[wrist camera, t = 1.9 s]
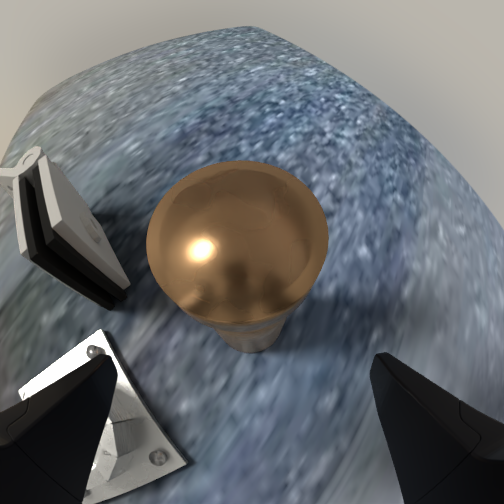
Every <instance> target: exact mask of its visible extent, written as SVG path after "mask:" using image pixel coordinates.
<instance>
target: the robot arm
mask: <svg viewBox="0 0 504 504" xmlns="http://www.w3.org/2000/svg"><path fill="white" fill-rule="evenodd" d="M117 380H118V371H117V369H116V366H115V364H114V361H113V359H112V357H111V356H110V355H108V354H98V355H97V356H95V357H94V358H92V359H90V360H89V361H87V362H85V363H84V364H82V365H80V366H79V367H77V368H76V369H74V370H72V371H71V372H69V373H67V374H66V375H64V376H62V377H61V378H59V379H57V380H56V381H54V382H52V383H51V384H49V385H48V386H46V387H44V388H43V389H41V390H39V391H38V392H36V393H34V394H33V395H31V396H30V397H28V398H26V399H24V400H23V401H21V402H19V403H17V404H16V405H14V406H12V407H10V408H8V409H6V410H4V411H2V412H0V504H82V502H83V499H84V495H85V491H86V487H87V483H88V480H89V476H90V473H91V469H92V466H93V462H94V459H95V456H96V452H97V449H98V446H99V443H100V440H101V436H102V433H103V430H104V427H105V424H106V421H107V419H108V416H109V412H110V409H111V405H112V400H113V396H114V392H115V388H116V384H117ZM370 380H371V384H372V389H373V393H374V398H375V403H376V408H377V412H378V416H379V419H380V422H381V425H382V428H383V431H384V434H385V437H386V441H387V444H388V447H389V450H390V453H391V457H392V460H393V464H394V467H395V470H396V474H397V477H398V481H399V485H400V488H401V492H402V496H403V500H404V504H504V424H503V423H501V422H499V421H497V420H495V419H493V418H491V417H489V416H487V415H485V414H483V413H481V412H479V411H477V410H476V409H474V408H472V407H471V406H469V405H467V404H466V403H464V402H463V401H461V400H459V399H458V398H456V397H455V396H453V395H452V394H450V393H449V392H447V391H446V390H444V389H443V388H441V387H439V386H438V385H436V384H435V383H433V382H432V381H430V380H429V379H427V378H426V377H424V376H423V375H421V374H419V373H418V372H416V371H415V370H413V369H412V368H410V367H409V366H407V365H406V364H404V363H403V362H401V361H400V360H398V359H397V358H395V357H394V356H392V355H390V354H389V353H387V352H384V353H378V354H376V355H375V356H374V359H373V363H372V366H371V370H370Z"/></svg>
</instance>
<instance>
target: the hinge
mask: <svg viewBox="0 0 504 504" xmlns="http://www.w3.org/2000/svg"><path fill="white" fill-rule="evenodd" d="M0 185H1V186H2V187H3V188H4V189H5V191H6V192H7V193H8V194H9V195H10V196H11V197H12V198H13V199H14V209H15V219H16V228H17V235H18V242H19V248H20V254H21V255H22V256H23V257H25V258H26V259H27V260H29V261H30V262H32V263H33V264H34V265H36V266H37V267H39V268H40V269H41V270H43V271H44V272H46V273H47V274H49V275H50V276H52V277H53V278H55V279H56V280H58V281H59V282H61V283H62V284H64V285H65V286H67V287H69V288H70V289H72V290H73V291H75V292H76V293H78V294H80V295H81V296H83V297H85V298H86V299H88V300H90V301H91V302H93V303H95V304H96V305H98V306H102V307H104V308H106V309H107V310H109V311H110V310H111V309H113V308H114V307H115V306H114V304H113V302H112V300H111V298H110V296H109V294H108V292H109V293H110V294H112V295H113V296H114V297H116V298H117V299H119V300H120V301H123V300H125V299H126V298H127V295H126V293H125V292H124V289H125V288H127V287H128V286H129V285H131V283H130V282H129V280H128V278H127V276H126V274H125V273H124V271H123V269H122V267H121V265H120V263H119V261H118V259H117V257H116V255H115V253H114V251H113V250H112V248H111V246H110V244H109V241H108V239H107V237H106V235H105V233H104V231H103V229H102V227H101V225H100V223H99V222H98V221H97V220H96V219H95V217H94V216H93V215H92V214H91V212H90V209H89V207H88V205H87V204H86V202H85V201H84V200H83V198H82V197H81V196H80V195H79V193H78V192H77V191H76V189H75V188H74V187H73V185H72V184H71V183H70V181H69V180H68V179H67V177H66V176H65V175H64V173H63V172H62V171H61V169H60V168H59V166H58V165H57V164H56V163H54V162H51V161H50V159H49V158H48V156H47V155H46V154H45V153H44V152H43V150H42V149H41V147H38V146H36V147H34V148H32V149H30V150H29V151H27V152H26V153H25V154H24V156H23V157H22V158H21V159H20V160H19V162H18V164H17V165H16V166H15V167H14V168H0Z"/></svg>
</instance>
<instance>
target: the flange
mask: <svg viewBox="0 0 504 504" xmlns="http://www.w3.org/2000/svg"><path fill="white" fill-rule="evenodd" d="M98 354H108V355H110V356H111V357H112V359H113V361H114V364H115V366H116V369H117V371H118V380H117V384H116V388H115V392H114V396H113V400H112V405H111V409H110V412H109V416H108V419H107V421H106V424H105V427H104V430H103V433H102V436H101V440H100V443H99V446H98V449H97V452H96V456H95V459H94V462H93V466H92V469H91V473H90V476H89V480H88V483H87V487H86V491H85V495H84V499H83V502H82V504H95V503H98V502H101V501H104V500H107V499H109V498H112V497H115V496H117V495H120V494H123V493H125V492H128V491H130V490H133V489H135V488H137V487H140V486H142V485H144V484H147V483H149V482H151V481H153V480H156V479H158V478H160V477H162V476H164V475H166V474H168V473H170V472H172V471H174V470H176V469H178V468H180V467H182V466H184V465H186V464H187V463H188V461H187V460H186V458H185V457H184V456H183V455H182V453H181V452H180V451H179V450H178V448H177V447H176V446H175V444H174V443H173V442H172V440H171V439H170V438H169V436H168V435H167V434H166V432H165V431H164V430H163V428H162V427H161V425H160V424H159V423H158V421H157V420H156V418H155V417H154V415H153V414H152V413H151V411H150V410H149V408H148V407H147V405H146V403H145V402H144V400H143V399H142V397H141V396H140V394H139V392H138V391H137V389H136V388H135V386H134V384H133V383H132V381H131V379H130V378H129V376H128V374H127V372H126V371H125V369H124V367H123V365H122V364H121V362H120V360H119V358H118V356H117V354H116V353H115V351H114V349H113V347H112V345H111V343H110V341H109V339H108V337H107V335H106V333H105V331H104V330H102V329H100V330H99V331H97V332H96V333H95V334H93V335H92V336H90V337H89V338H88V339H86V340H85V341H84V342H82V343H81V344H80V345H78V346H77V347H75V348H74V349H73V350H71V351H70V352H69V353H67V354H66V355H65V356H63V357H62V358H61V359H59V360H58V361H57V362H55V363H54V364H53V365H51V366H50V367H49V368H47V369H46V370H45V371H43V372H42V373H41V374H39V375H38V376H37V377H35V378H34V379H33V380H32V381H30V382H29V383H28V384H26V385H25V386H24V387H22V388H21V389H20V390H19V393H20V396H21V398H22V401H23V400H24V399H26V398H28V397H30V396H31V395H33V394H34V393H36V392H38V391H39V390H41V389H43V388H44V387H46V386H48V385H49V384H51V383H52V382H54V381H56V380H57V379H59V378H61V377H62V376H64V375H66V374H67V373H69V372H71V371H72V370H74V369H76V368H77V367H79V366H80V365H82V364H84V363H85V362H87V361H89V360H90V359H92V358H94V357H95V356H97V355H98Z"/></svg>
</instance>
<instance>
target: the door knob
mask: <svg viewBox="0 0 504 504" xmlns="http://www.w3.org/2000/svg"><path fill="white" fill-rule="evenodd" d="M328 239H329V237H328V226H327V222H326V217H325V215H324V212H323V209H322V207H321V205H320V204H319V202H318V200H317V198H316V197H315V196H314V194H313V193H312V192H311V191H310V189H309V188H308V187H307V186H306V185H305V184H304V183H302V182H301V181H300V180H299V179H297V178H296V177H295V176H293V175H291V174H290V173H288V172H286V171H284V170H282V169H280V168H278V167H275V166H272V165H269V164H265V163H260V162H254V161H227V162H221V163H217V164H213V165H209V166H206V167H204V168H201V169H199V170H197V171H195V172H193V173H191V174H189V175H188V176H186V177H185V178H183V179H182V180H180V181H179V182H178V183H176V184H175V185H174V186H173V187H172V188H171V189H170V190H169V191H168V192H167V193H166V194H165V195H164V197H163V198H162V199H161V201H160V202H159V204H158V205H157V207H156V209H155V211H154V213H153V215H152V218H151V220H150V223H149V227H148V231H147V239H146V250H147V257H148V262H149V265H150V268H151V271H152V273H153V275H154V277H155V279H156V281H157V283H158V284H159V285H160V287H161V288H162V289H163V291H164V292H165V293H166V294H167V295H168V296H169V297H170V298H171V299H172V300H173V301H174V302H175V303H176V304H177V305H178V306H179V307H180V308H181V309H182V310H183V311H184V312H185V313H186V314H188V315H189V316H190V317H192V318H193V319H194V320H196V321H198V322H200V323H202V324H204V325H206V326H209V327H211V328H214V330H215V331H216V332H217V333H218V334H219V335H220V336H221V338H222V339H223V340H224V341H225V342H226V343H227V344H228V345H229V346H230V347H232V348H233V349H235V350H237V351H240V352H244V353H256V352H260V351H263V350H265V349H267V348H268V347H270V346H271V345H272V344H273V343H274V342H275V341H276V339H277V338H278V336H279V334H280V332H281V330H282V327H283V325H284V323H285V320H286V318H287V316H288V315H290V314H291V313H292V312H293V311H294V310H295V309H297V308H298V307H299V306H300V304H301V303H302V302H303V301H304V300H305V298H306V297H307V295H308V293H309V292H310V290H311V288H312V286H313V285H314V283H315V281H316V279H317V277H318V275H319V273H320V271H321V269H322V266H323V264H324V261H325V258H326V254H327V250H328Z"/></svg>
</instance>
